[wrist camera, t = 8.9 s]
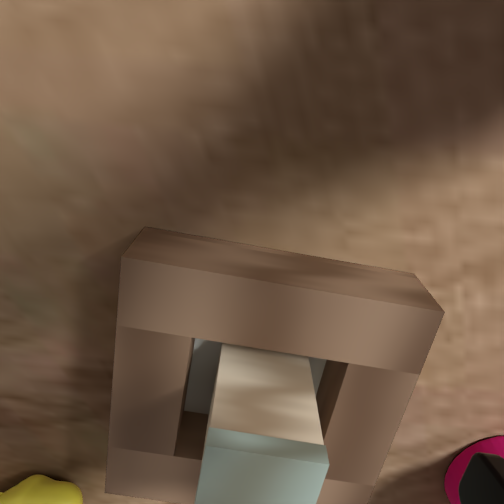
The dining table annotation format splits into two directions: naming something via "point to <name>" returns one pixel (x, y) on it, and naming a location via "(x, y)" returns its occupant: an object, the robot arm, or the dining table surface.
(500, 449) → the pepper mill
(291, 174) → the dining table surface
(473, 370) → the dining table surface
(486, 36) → the dining table surface
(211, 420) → the peg
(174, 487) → the socket block
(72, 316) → the dining table surface
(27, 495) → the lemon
